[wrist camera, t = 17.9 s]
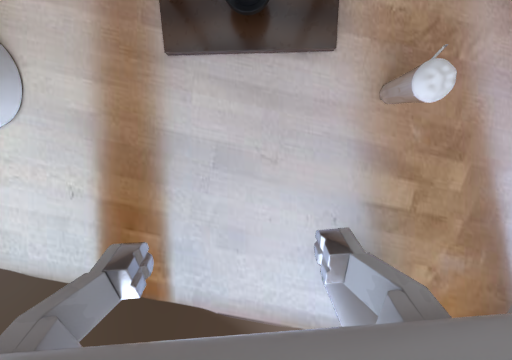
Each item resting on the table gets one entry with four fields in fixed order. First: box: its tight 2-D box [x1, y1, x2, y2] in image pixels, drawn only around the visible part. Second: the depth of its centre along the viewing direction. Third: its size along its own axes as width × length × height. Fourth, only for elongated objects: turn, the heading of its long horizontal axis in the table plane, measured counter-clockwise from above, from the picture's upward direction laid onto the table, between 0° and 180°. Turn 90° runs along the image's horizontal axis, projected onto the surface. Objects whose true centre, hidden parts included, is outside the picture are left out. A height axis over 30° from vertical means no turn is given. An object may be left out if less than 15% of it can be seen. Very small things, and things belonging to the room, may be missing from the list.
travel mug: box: [322, 277, 378, 327], centre depth 29 cm, size 6×7×20 cm
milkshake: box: [380, 44, 457, 104], centre depth 27 cm, size 4×5×10 cm
